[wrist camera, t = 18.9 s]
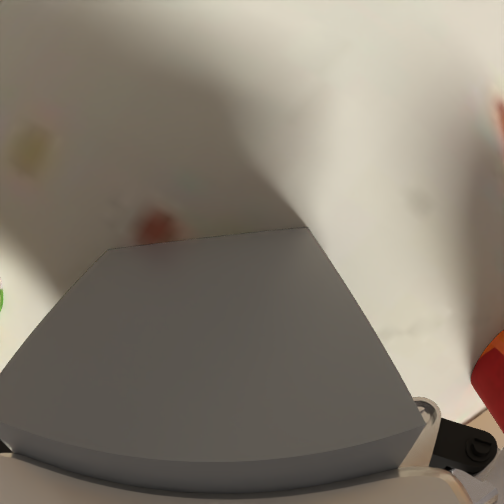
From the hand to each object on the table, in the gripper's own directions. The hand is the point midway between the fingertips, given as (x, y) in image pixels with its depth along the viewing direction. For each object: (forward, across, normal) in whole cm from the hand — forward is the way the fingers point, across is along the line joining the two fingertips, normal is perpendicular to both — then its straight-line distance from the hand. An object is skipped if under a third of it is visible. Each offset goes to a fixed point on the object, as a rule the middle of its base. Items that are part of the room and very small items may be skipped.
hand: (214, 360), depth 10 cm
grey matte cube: (+3, 0, 0) cm, 3 cm away
